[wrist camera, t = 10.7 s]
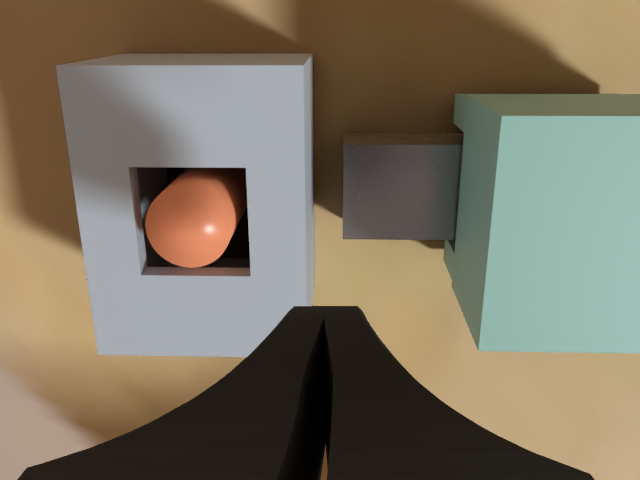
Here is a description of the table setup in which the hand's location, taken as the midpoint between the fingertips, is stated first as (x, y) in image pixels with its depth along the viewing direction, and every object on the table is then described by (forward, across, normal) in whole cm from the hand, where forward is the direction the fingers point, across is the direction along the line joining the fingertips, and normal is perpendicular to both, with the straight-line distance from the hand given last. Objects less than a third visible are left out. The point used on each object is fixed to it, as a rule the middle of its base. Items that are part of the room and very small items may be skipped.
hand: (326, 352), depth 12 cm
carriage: (+10, -6, -1) cm, 12 cm away
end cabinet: (+10, +4, -1) cm, 11 cm away
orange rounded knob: (+8, +4, -1) cm, 9 cm away
